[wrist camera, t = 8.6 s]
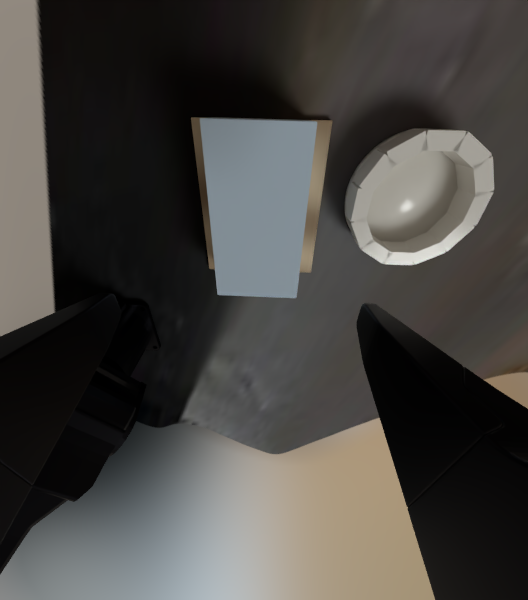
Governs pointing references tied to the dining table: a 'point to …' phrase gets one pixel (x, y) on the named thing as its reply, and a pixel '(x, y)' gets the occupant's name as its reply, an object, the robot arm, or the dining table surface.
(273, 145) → the light blue block
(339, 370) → the dining table surface
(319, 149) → the mat
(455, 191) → the bowl
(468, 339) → the dining table surface
